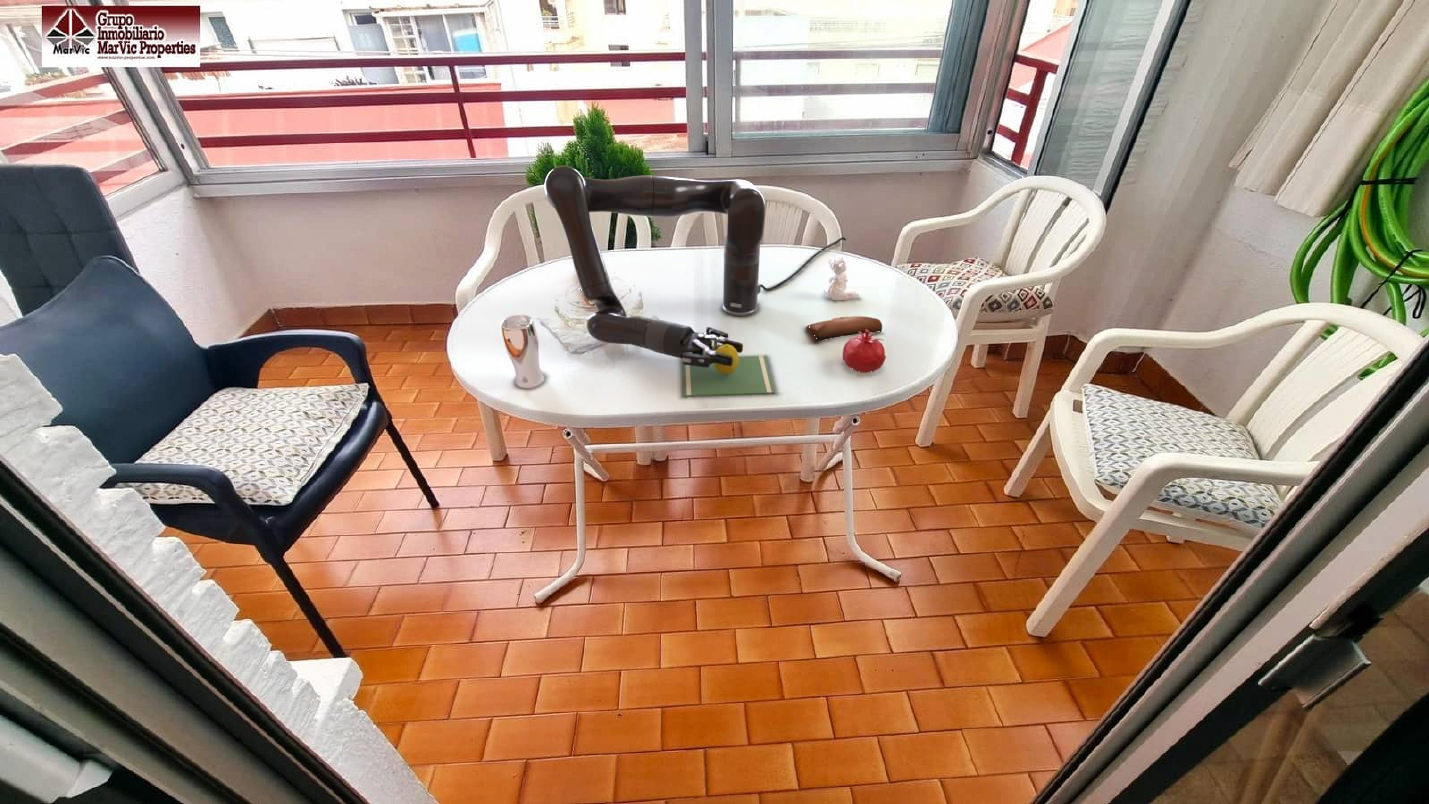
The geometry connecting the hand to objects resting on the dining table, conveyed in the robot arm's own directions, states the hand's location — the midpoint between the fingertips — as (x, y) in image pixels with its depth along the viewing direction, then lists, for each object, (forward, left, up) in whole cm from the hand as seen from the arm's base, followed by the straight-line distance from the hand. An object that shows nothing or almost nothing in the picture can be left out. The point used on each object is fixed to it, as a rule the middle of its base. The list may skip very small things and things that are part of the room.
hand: (737, 354), depth 127 cm
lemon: (0, -3, -6) cm, 7 cm away
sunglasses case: (-32, +14, -7) cm, 36 cm away
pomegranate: (-19, +24, -7) cm, 31 cm away
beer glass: (+23, -40, -7) cm, 47 cm away
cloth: (0, -2, -6) cm, 7 cm away
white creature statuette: (-51, +7, -7) cm, 52 cm away
